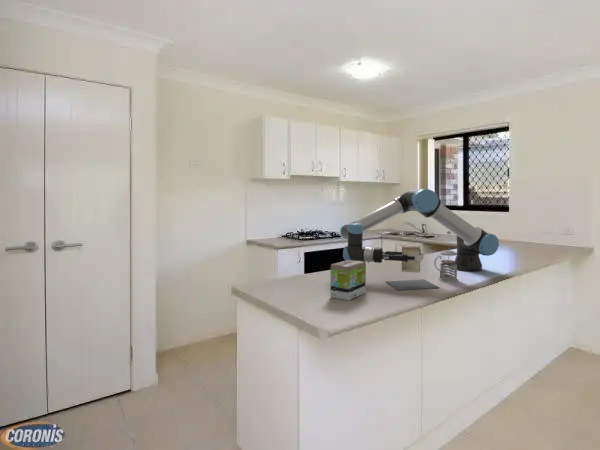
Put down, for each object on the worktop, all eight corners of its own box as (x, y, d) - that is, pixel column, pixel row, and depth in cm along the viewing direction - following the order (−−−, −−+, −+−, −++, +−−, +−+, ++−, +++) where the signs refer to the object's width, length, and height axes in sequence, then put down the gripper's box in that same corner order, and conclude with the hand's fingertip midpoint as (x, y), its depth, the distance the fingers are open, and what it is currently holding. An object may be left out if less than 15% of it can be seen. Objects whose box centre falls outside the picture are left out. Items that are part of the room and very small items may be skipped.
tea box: (350, 301, 152) (349, 266, 151) (329, 297, 158) (329, 264, 157) (366, 293, 164) (366, 260, 163) (347, 290, 170) (346, 258, 169)
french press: (461, 282, 178) (461, 232, 176) (436, 282, 180) (436, 232, 178) (456, 278, 187) (457, 230, 185) (433, 277, 190) (433, 230, 188)
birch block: (403, 269, 179) (403, 245, 178) (420, 270, 176) (420, 246, 175) (401, 271, 174) (401, 246, 173) (419, 272, 171) (419, 247, 170)
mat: (424, 280, 185) (424, 279, 185) (439, 288, 169) (439, 287, 169) (386, 282, 182) (386, 281, 182) (398, 290, 167) (398, 289, 167)
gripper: (377, 259, 190) (424, 261, 181) (369, 265, 174) (420, 268, 164) (377, 245, 190) (424, 246, 180) (369, 250, 173) (420, 252, 164)
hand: (422, 257), depth 172 cm, fingers closed on birch block, 5 cm apart
